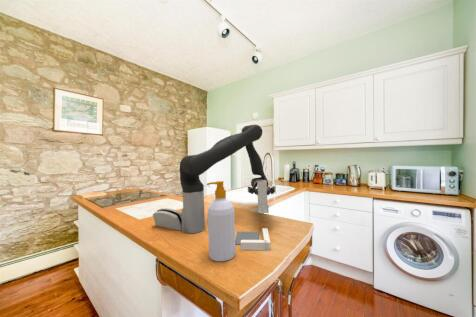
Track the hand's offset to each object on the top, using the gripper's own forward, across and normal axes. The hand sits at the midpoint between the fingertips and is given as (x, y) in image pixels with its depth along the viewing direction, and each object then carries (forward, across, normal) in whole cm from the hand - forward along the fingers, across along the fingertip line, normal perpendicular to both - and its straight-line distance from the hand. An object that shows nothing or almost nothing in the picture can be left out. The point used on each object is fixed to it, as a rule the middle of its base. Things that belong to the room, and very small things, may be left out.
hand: (262, 192), depth 77 cm
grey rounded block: (-3, -43, +17) cm, 47 cm away
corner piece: (+11, -4, +16) cm, 20 cm away
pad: (+8, -7, +16) cm, 19 cm away
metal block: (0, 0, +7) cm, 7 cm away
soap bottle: (+21, -15, +16) cm, 30 cm away
